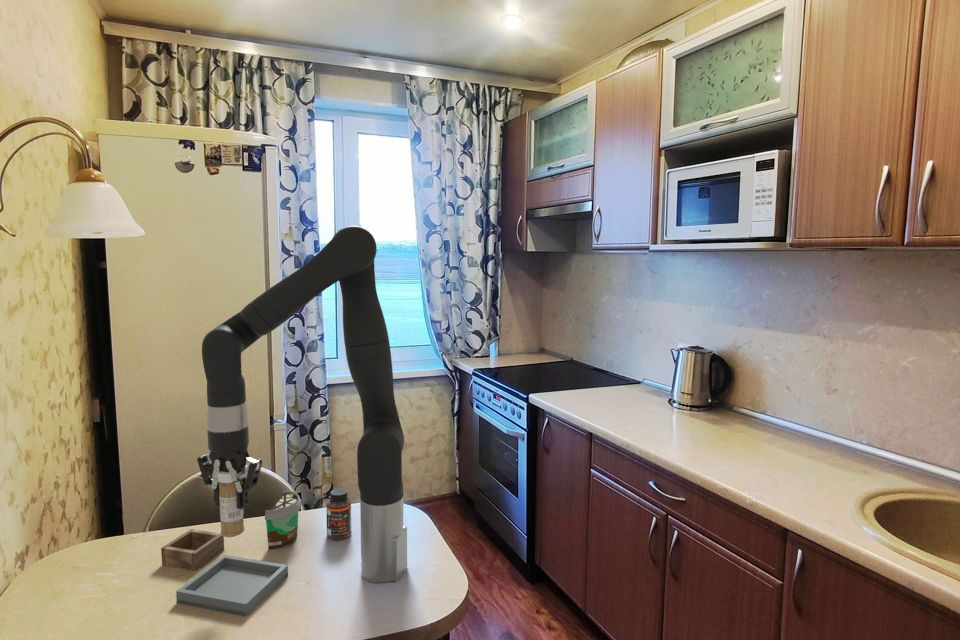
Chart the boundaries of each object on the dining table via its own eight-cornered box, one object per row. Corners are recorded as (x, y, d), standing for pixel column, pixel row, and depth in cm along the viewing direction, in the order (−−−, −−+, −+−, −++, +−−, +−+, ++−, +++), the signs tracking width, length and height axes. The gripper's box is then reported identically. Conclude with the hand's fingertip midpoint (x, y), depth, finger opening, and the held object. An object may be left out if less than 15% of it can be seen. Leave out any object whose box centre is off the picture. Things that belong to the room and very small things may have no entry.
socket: (224, 550, 132) (223, 533, 131) (196, 570, 123) (195, 553, 122) (191, 544, 134) (191, 528, 133) (162, 564, 125) (161, 548, 125)
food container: (292, 552, 131) (290, 511, 130) (265, 552, 131) (264, 511, 130) (309, 527, 143) (308, 489, 142) (285, 526, 143) (284, 489, 142)
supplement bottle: (328, 543, 135) (327, 498, 134) (325, 531, 141) (324, 488, 139) (353, 538, 138) (352, 494, 136) (349, 527, 143) (348, 485, 142)
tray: (288, 576, 121) (287, 565, 121) (246, 616, 108) (245, 604, 107) (224, 565, 125) (224, 554, 125) (176, 602, 112) (176, 591, 111)
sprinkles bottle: (245, 525, 118) (242, 464, 116) (244, 536, 114) (241, 472, 112) (221, 529, 116) (218, 467, 115) (219, 539, 112) (216, 475, 110)
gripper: (270, 422, 114) (273, 502, 116) (210, 416, 118) (214, 494, 120) (246, 433, 107) (250, 518, 109) (183, 427, 110) (188, 510, 112)
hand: (231, 505), depth 114 cm, fingers closed on sprinkles bottle, 4 cm apart
